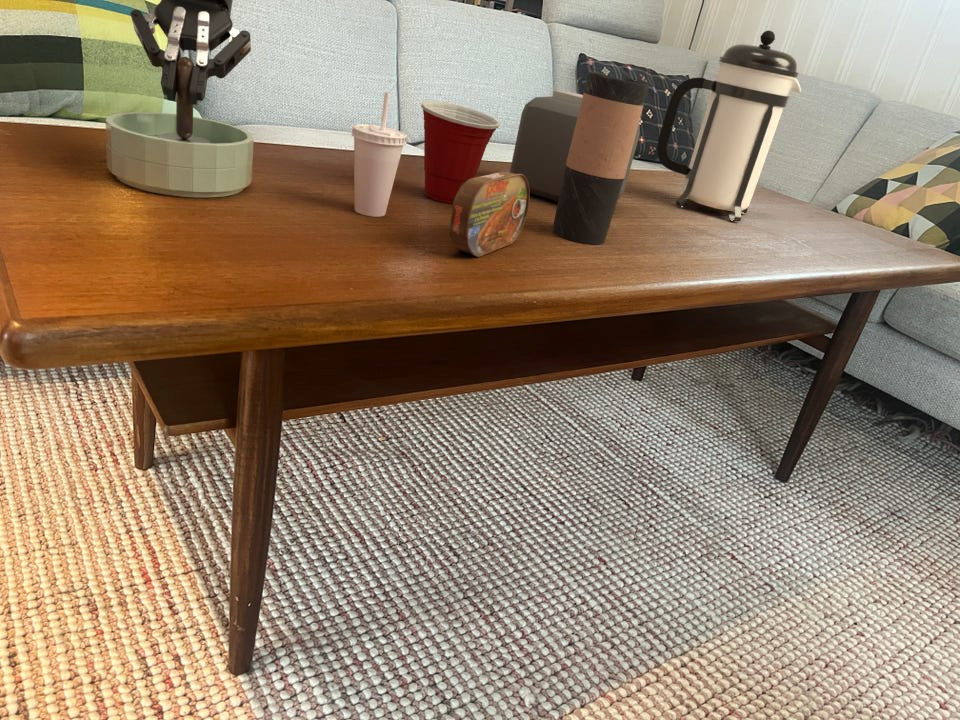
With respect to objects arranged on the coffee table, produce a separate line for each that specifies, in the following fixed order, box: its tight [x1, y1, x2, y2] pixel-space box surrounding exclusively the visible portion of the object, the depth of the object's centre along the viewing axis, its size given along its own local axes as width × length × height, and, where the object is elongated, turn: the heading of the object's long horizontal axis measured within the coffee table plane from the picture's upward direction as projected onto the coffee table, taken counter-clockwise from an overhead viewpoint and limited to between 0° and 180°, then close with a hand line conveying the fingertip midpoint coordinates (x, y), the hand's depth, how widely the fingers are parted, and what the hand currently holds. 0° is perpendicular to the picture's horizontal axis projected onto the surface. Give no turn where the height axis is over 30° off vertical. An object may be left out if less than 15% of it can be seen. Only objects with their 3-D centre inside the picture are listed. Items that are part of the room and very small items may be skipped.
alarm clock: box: [509, 89, 641, 203], centre depth 112 cm, size 16×11×16 cm
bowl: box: [105, 111, 255, 199], centre depth 84 cm, size 15×15×6 cm
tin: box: [449, 171, 531, 258], centre depth 82 cm, size 15×3×8 cm, turn 151°
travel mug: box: [552, 70, 649, 245], centre depth 93 cm, size 8×8×20 cm
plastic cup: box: [420, 100, 501, 205], centre depth 99 cm, size 11×11×12 cm
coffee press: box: [656, 30, 802, 222], centre depth 125 cm, size 17×16×30 cm
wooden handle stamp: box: [158, 56, 210, 143], centre depth 84 cm, size 6×6×12 cm
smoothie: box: [350, 91, 408, 218], centre depth 85 cm, size 6×6×14 cm
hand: (181, 97), depth 81 cm, fingers closed on wooden handle stamp
